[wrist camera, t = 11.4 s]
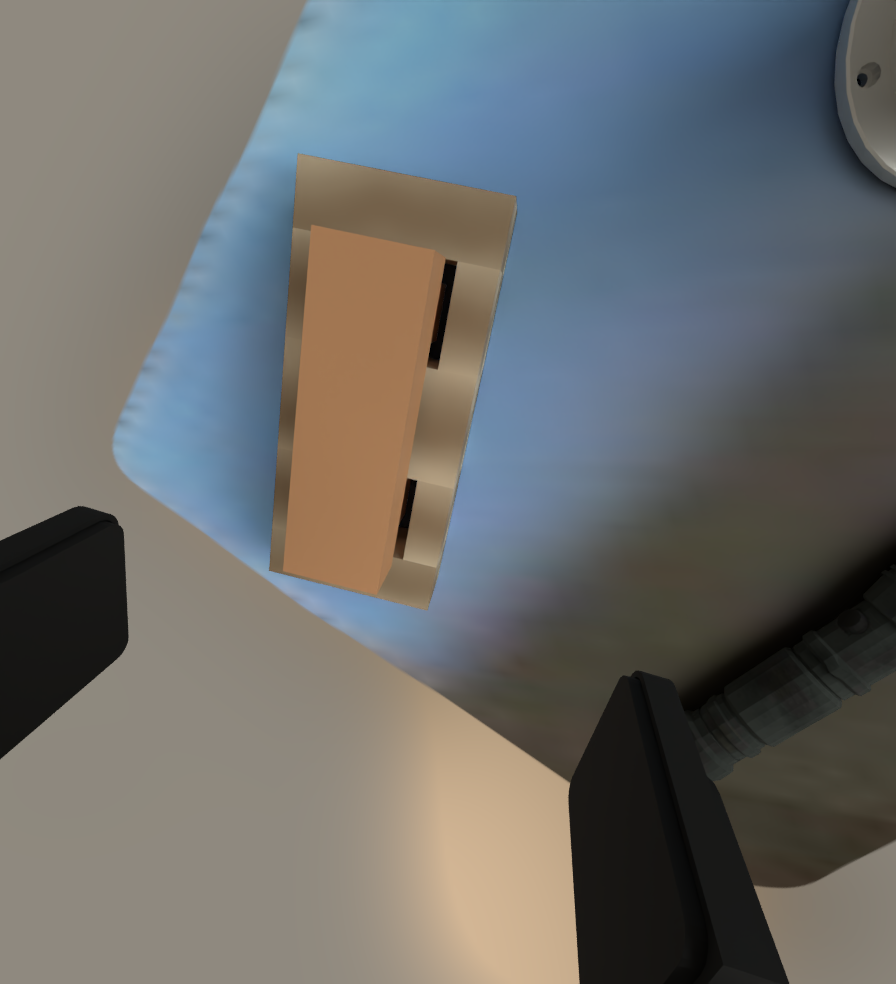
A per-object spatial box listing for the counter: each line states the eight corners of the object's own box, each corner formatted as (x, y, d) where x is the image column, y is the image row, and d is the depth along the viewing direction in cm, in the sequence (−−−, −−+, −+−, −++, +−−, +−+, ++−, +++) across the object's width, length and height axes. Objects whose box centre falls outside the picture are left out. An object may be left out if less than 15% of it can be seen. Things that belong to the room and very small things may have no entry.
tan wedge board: (369, 247, 27) (311, 224, 19) (459, 266, 26) (434, 250, 19) (337, 511, 33) (282, 571, 25) (410, 529, 32) (376, 594, 25)
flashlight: (1006, 555, 28) (1102, 604, 23) (705, 740, 35) (733, 806, 30) (950, 499, 27) (1038, 537, 23) (656, 699, 35) (676, 759, 30)
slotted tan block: (330, 175, 26) (297, 153, 22) (516, 212, 25) (516, 196, 21) (297, 541, 34) (269, 570, 30) (437, 576, 33) (427, 610, 30)
